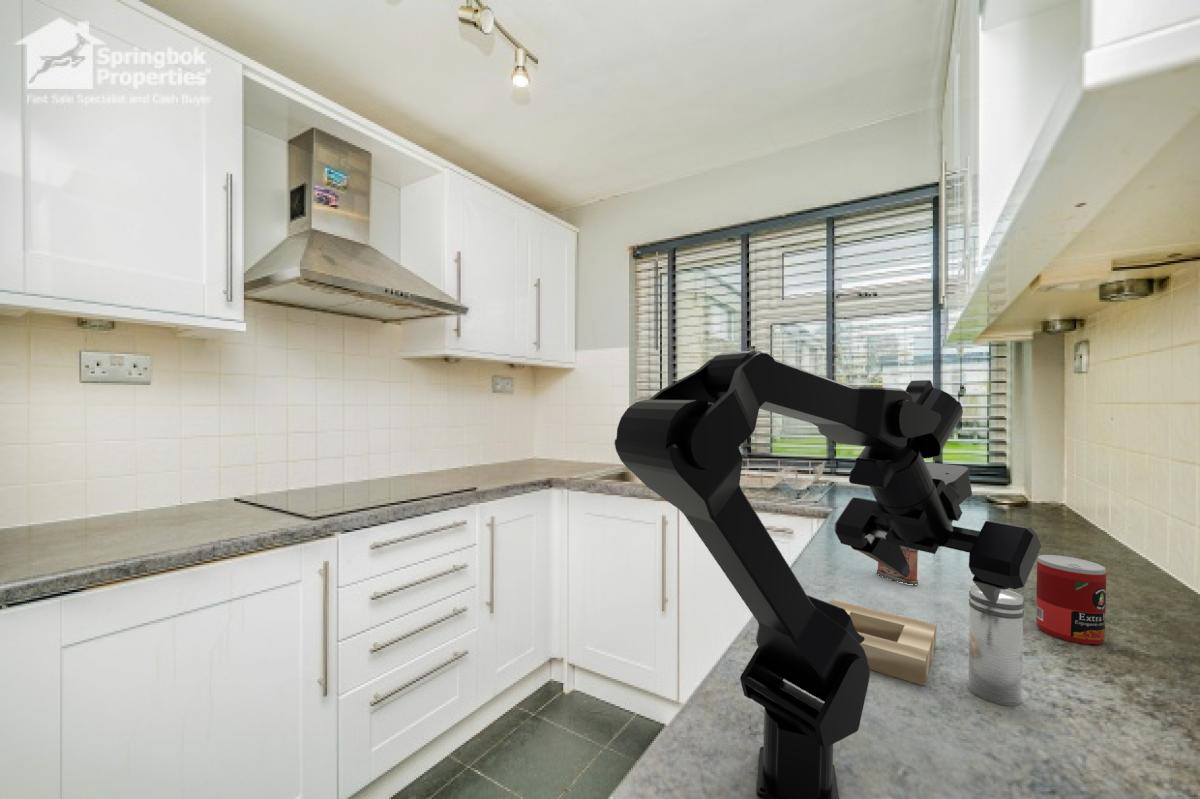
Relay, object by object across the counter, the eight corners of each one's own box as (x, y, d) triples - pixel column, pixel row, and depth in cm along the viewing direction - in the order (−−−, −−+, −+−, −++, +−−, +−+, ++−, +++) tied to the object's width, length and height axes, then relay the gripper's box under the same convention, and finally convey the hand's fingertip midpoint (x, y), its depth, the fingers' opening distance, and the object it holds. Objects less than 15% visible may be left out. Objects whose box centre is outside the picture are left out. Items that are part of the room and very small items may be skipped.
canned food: (1082, 648, 74) (1084, 571, 74) (1023, 625, 82) (1024, 555, 82) (1118, 643, 76) (1120, 568, 76) (1057, 621, 84) (1058, 553, 84)
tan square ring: (925, 686, 62) (925, 661, 62) (805, 649, 71) (805, 627, 71) (936, 645, 74) (936, 624, 74) (831, 618, 82) (831, 599, 82)
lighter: (872, 574, 106) (873, 525, 106) (883, 572, 107) (884, 523, 107) (910, 587, 98) (912, 534, 98) (922, 584, 100) (923, 533, 100)
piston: (1030, 710, 58) (1032, 603, 58) (975, 700, 60) (977, 596, 60) (1011, 687, 63) (1013, 588, 63) (961, 678, 65) (963, 582, 65)
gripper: (1038, 444, 49) (1075, 555, 55) (854, 432, 65) (896, 519, 71) (997, 529, 45) (1041, 640, 50) (810, 494, 61) (858, 582, 66)
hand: (948, 586), depth 59 cm, fingers open, 9 cm apart
